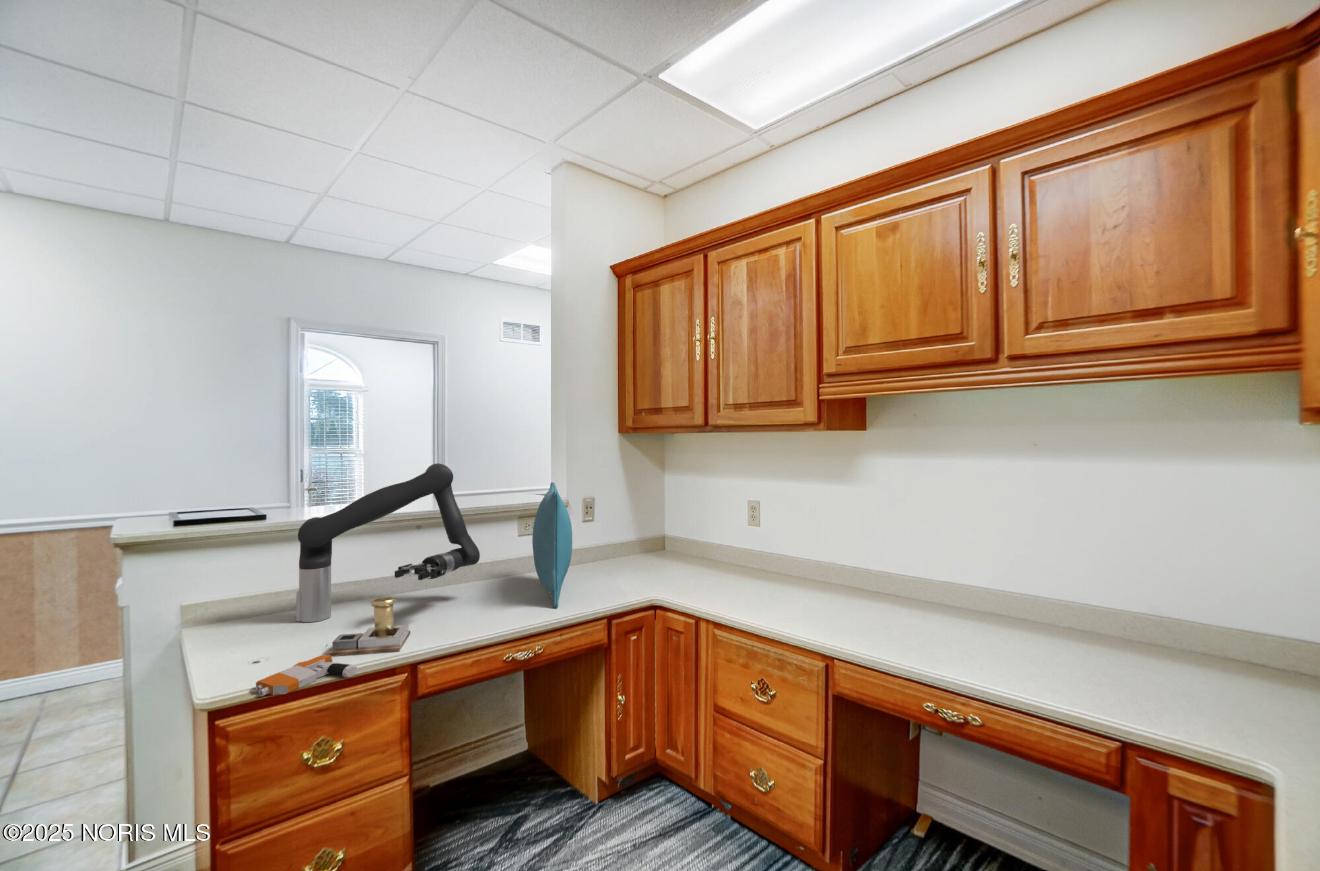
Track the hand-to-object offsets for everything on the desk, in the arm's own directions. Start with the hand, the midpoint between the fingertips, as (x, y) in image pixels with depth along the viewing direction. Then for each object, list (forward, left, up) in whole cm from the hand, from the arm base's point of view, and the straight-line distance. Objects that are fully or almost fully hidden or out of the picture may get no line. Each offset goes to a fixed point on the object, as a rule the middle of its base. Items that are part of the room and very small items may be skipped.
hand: (407, 575), depth 183 cm
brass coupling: (-3, -13, -16) cm, 21 cm away
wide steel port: (-3, -14, -17) cm, 22 cm away
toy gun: (-16, -37, -17) cm, 44 cm away
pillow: (+46, +33, -17) cm, 59 cm away
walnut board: (-7, -13, -17) cm, 22 cm away
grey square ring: (-12, -16, -17) cm, 26 cm away
